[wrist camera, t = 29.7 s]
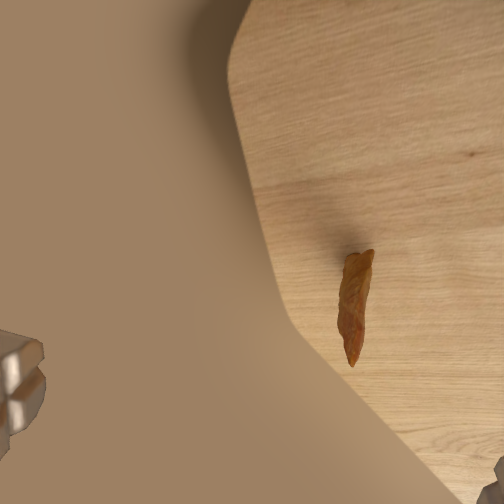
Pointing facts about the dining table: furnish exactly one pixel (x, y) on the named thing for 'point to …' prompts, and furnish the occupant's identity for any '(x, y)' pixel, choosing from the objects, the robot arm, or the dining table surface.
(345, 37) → the dining table surface
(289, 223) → the dining table surface
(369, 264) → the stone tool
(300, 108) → the dining table surface
